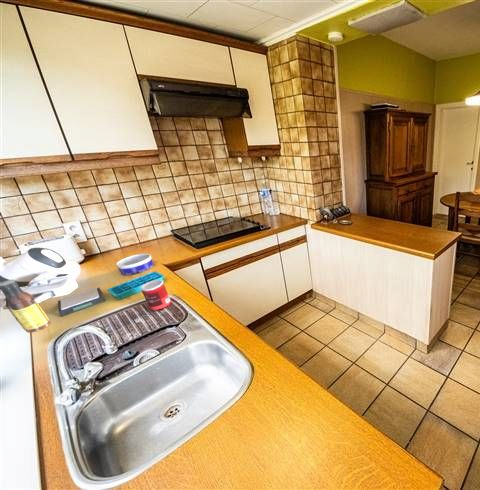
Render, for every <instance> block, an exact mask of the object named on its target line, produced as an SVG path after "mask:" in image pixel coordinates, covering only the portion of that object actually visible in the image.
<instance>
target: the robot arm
mask: <svg viewBox="0 0 480 490" xmlns="http://www.w3.org/2000/svg"><path fill="white" fill-rule="evenodd" d="M81 272H82V268H81V265H80V264H79V263H78V262H77V261H74V260H71V259H65V258H64V257H63V256H62V255H60V254H59V253H58V252H56V251H55V250H53V249H50V248H46V247H31V248H28V250H26V251H24V252H23V253H21V254H20V255H18V257H16V258H14V259H13V260H12V261H7V260H5V258H3V257H1V256H0V283H2V282H5V281H8V280H16V281H17V283H18V285H19V287H20V288H21V289H22V291H24V292H27V293H29V294H31V295H32V296H33V299H32V300H31V302H32V304H37V303H38V304H40V303H41V302H44V301H46V300H48V299H53V298H57V297H63V296H64V297H65V296H67V295H69V294H71V293H73V292H74V291H75V290H76V289H78V288H79V285H78V282H77V280H76V279H78V277H79V276H80V274H81ZM0 308H2V310H9V309H8V308H7V307H6V298H5V295H4V293H3V292H2V293H0Z"/></svg>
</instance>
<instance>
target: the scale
mask: <svg viewBox="0 0 480 490" xmlns="http://www.w3.org/2000/svg"><path fill="white" fill-rule="evenodd" d="M104 297H105V296H104V295H103V292H102V290H101V288H100V287H92V288H90V289H86V290H84V291H80V292H78V293H74V294H71V295H68V296H64V297H63V298H60V300H57V310H58V311H57V312H58V314H59V316H60V317H65V316H67V315H70V314H72V313H76V312H79V311H81V310H84V309H87V308H89V307H92V306H95V305H98V304H101V303H104V302H105V298H104Z"/></svg>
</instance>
